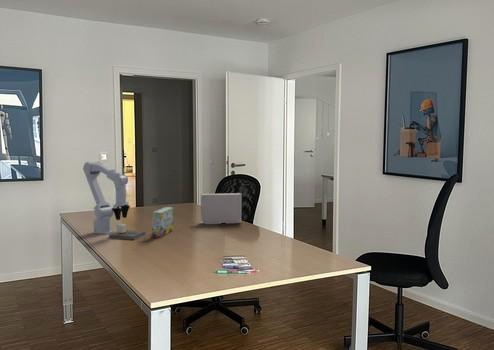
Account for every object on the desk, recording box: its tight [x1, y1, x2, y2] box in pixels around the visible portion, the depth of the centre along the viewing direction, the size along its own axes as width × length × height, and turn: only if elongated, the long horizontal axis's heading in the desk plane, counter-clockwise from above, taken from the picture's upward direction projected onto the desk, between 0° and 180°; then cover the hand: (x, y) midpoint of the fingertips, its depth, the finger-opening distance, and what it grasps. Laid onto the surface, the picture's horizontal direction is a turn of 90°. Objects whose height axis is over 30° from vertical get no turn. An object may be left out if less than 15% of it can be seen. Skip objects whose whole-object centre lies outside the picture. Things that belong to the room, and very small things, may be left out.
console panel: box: [108, 229, 146, 241], centre depth 276 cm, size 16×14×2 cm
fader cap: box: [116, 223, 127, 233], centre depth 276 cm, size 4×4×5 cm
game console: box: [200, 192, 243, 225], centre depth 318 cm, size 6×27×20 cm, turn 104°
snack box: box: [151, 206, 174, 239], centre depth 283 cm, size 21×6×15 cm, turn 168°
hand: (121, 218), depth 276 cm, fingers open, 7 cm apart
